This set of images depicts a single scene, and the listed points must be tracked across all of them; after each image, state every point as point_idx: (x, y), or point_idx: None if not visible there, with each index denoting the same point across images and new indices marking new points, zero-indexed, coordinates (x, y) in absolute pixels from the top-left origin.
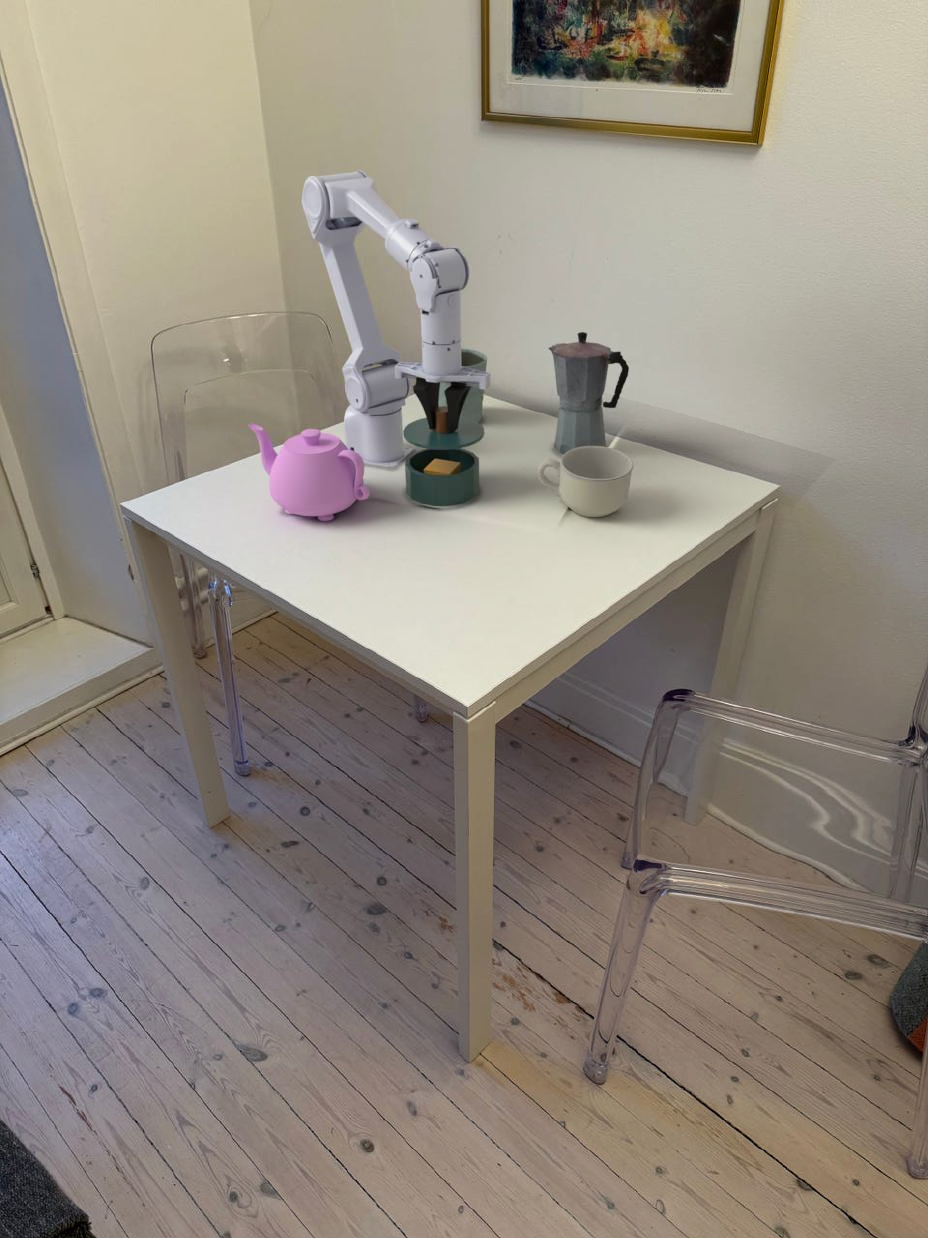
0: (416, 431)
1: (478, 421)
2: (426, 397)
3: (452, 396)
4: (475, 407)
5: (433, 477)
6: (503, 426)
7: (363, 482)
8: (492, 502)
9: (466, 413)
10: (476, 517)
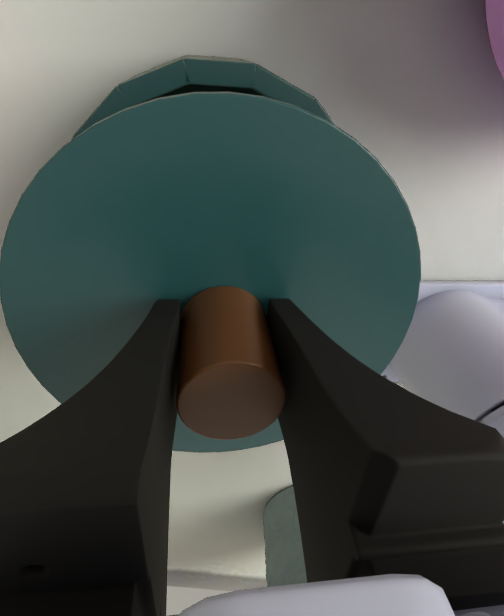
0: (353, 270)
1: (264, 514)
2: (352, 409)
3: (48, 454)
4: (273, 543)
5: (187, 58)
6: (212, 517)
7: (496, 11)
8: (29, 177)
9: (287, 522)
10: (10, 36)
